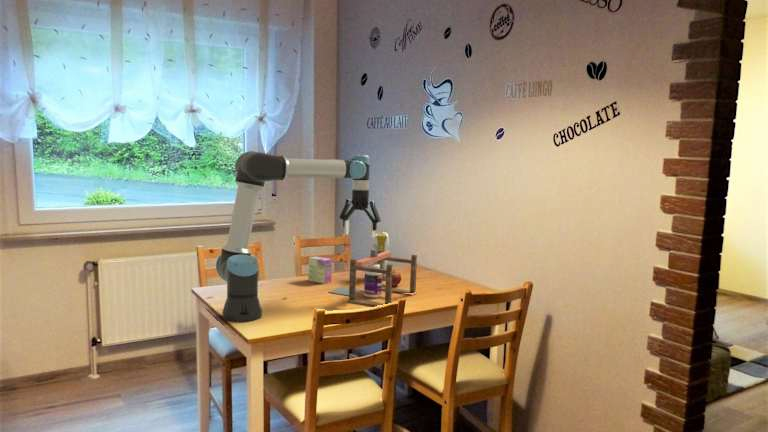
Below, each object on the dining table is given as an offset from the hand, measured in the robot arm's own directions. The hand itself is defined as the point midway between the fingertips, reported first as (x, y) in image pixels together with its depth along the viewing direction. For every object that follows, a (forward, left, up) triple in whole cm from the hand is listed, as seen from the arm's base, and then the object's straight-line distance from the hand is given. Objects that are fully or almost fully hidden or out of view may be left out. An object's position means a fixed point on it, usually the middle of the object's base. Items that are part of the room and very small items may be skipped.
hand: (359, 236), depth 264 cm
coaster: (0, +6, -27) cm, 28 cm away
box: (+10, +27, -27) cm, 40 cm away
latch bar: (0, -8, -11) cm, 13 cm away
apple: (+23, -7, -27) cm, 36 cm away
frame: (0, -13, -27) cm, 30 cm away
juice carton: (+33, +5, -27) cm, 43 cm away
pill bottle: (0, -8, -27) cm, 28 cm away
